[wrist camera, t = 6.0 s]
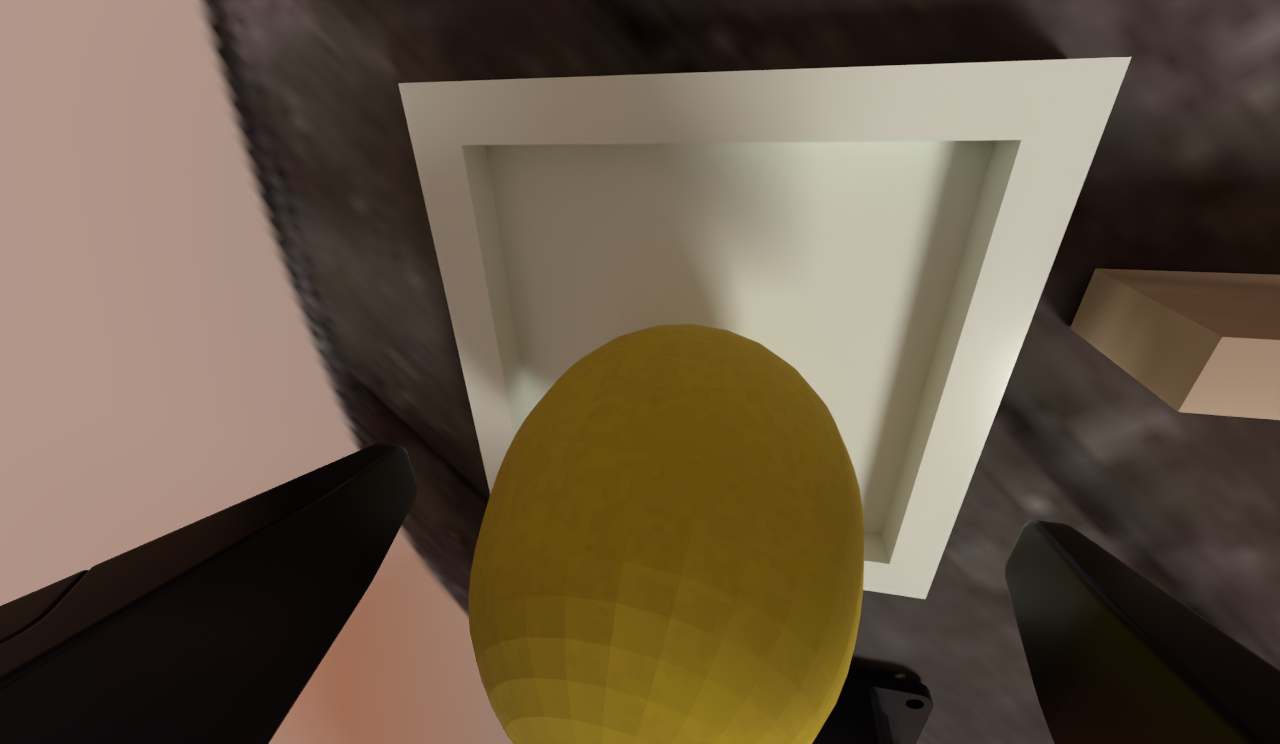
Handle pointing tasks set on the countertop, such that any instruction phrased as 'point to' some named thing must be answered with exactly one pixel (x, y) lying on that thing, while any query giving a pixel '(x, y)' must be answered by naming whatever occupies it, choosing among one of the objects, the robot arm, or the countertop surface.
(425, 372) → the countertop surface
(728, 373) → the lemon
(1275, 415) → the u-shaped wooden frame
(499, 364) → the dish
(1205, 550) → the countertop surface
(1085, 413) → the countertop surface
